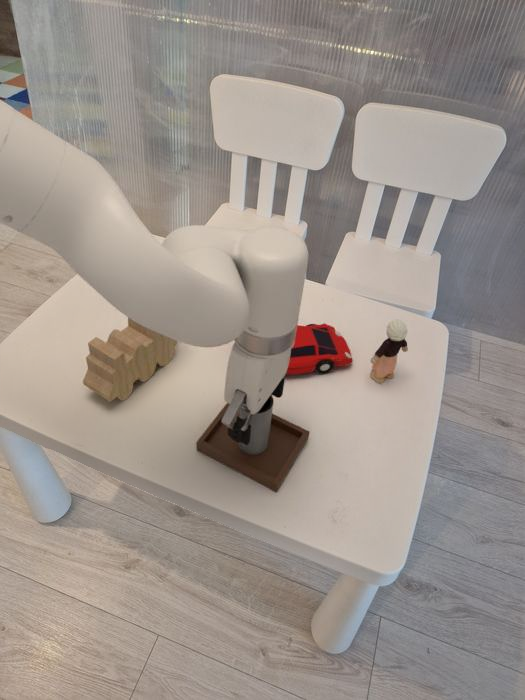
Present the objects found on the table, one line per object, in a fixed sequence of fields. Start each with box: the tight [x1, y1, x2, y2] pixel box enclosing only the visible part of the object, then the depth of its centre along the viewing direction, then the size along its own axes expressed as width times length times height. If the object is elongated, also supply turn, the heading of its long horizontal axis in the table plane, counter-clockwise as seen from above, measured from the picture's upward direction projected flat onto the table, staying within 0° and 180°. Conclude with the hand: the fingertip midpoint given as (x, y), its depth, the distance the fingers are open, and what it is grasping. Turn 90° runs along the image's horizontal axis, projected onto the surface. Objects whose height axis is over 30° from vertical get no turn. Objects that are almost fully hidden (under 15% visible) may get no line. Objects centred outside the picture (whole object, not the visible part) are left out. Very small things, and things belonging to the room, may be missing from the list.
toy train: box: [82, 317, 178, 402], centre depth 85 cm, size 6×17×10 cm, turn 146°
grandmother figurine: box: [369, 319, 409, 384], centre depth 87 cm, size 8×4×13 cm, turn 132°
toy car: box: [286, 323, 354, 376], centre depth 92 cm, size 10×20×5 cm, turn 106°
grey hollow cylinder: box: [238, 395, 274, 455], centre depth 76 cm, size 4×4×10 cm
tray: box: [195, 403, 311, 493], centre depth 79 cm, size 14×11×2 cm
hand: (255, 415), depth 75 cm, fingers open, 9 cm apart
